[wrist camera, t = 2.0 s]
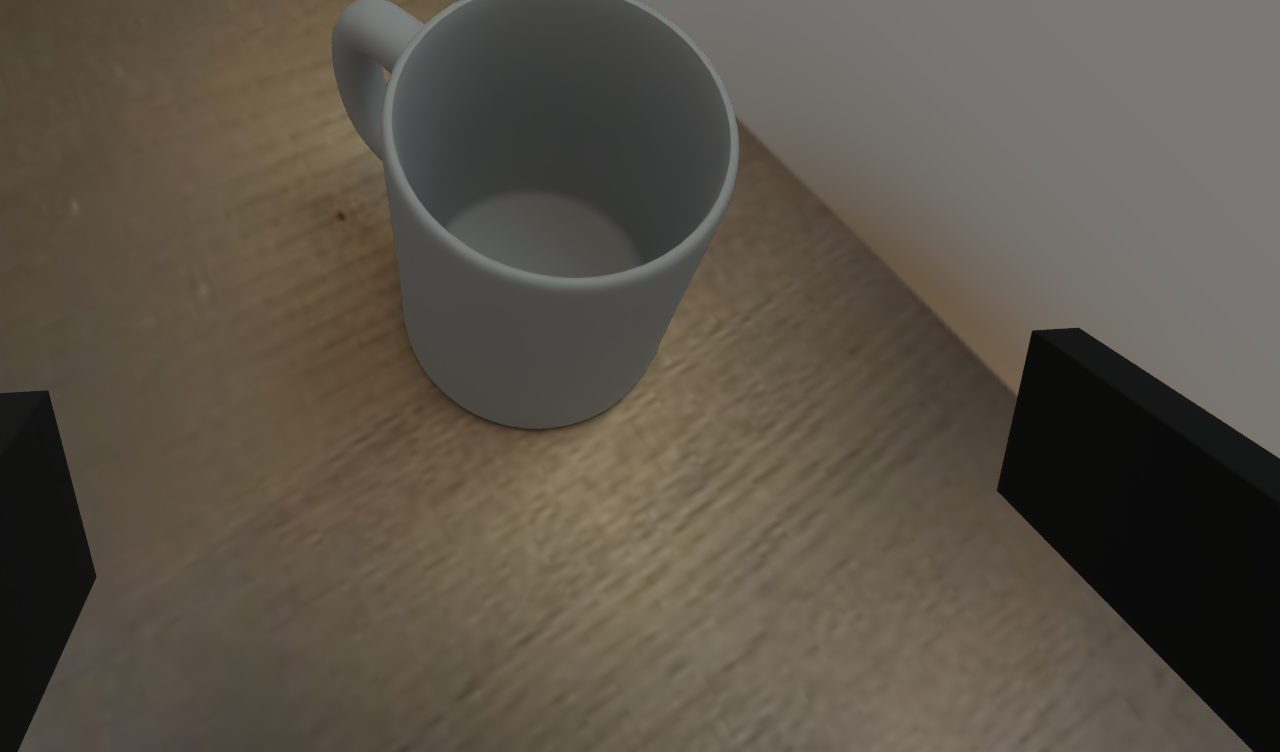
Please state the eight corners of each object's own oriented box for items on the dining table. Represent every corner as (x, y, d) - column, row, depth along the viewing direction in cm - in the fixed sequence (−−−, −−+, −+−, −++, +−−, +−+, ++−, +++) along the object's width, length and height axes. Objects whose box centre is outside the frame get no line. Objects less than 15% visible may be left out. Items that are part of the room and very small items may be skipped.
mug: (709, 305, 34) (813, 125, 24) (547, 486, 31) (587, 369, 21) (450, 92, 35) (444, -167, 25) (269, 247, 32) (178, 24, 22)
